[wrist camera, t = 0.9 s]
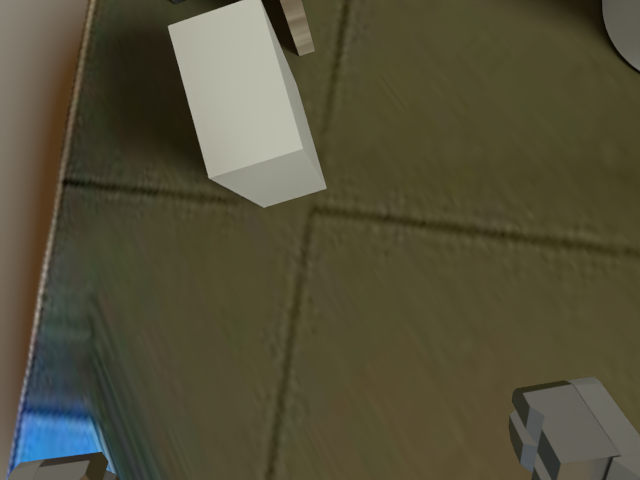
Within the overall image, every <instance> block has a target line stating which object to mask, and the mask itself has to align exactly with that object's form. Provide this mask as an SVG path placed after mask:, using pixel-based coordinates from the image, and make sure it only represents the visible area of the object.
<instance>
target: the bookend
mask: <svg viewBox="0 0 640 480" xmlns="http://www.w3.org/2000/svg"><path fill="white" fill-rule="evenodd" d="M172 1H173V3H174V4H177V3H179V2H182V1H185V0H172Z"/></svg>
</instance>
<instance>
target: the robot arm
mask: <svg viewBox="0 0 640 480" xmlns="http://www.w3.org/2000/svg"><path fill="white" fill-rule="evenodd" d="M602 10H603V18H604V22H605V26H606V29H607V32H608V34H609V36H610V39H611V40H612V42H613V44H614V46H615V47H616V49H617V50H618V51H619V53H620V54H621V55H622V56H623V57H624V58H625V59H626V60H627V61H628V62H629V63H630V64H631V65H632V66H634V67H635V68H636V69H638V70H639V71H640V0H602ZM512 403H513V405H514V407H515V409H516V410H515V411H514V412H513V413H512V414H511V415H510V416H509V432H510V438H511V442H512V445H513V448H514V451H515V454H516V456H517V458H518V460H519V462H520V464H521V465H522V466H524V467H525V468H526V469H528V470H529V471H530V472H532V473H533V474H532V480H640V435H639V434H638V433H637V431H636V430H635V429H634V427H633V426H632V424H631V423H630V422H629V420H628V419H627V418H626V416H625V415H624V414H623V412H622V411H621V410H620V408H619V407H618V405H617V404H616V403H615V401H614V400H613V399H612V397H611V396H610V395H609V393H608V392H607V391H606V389H605V388H604V386H603V385H602V384H601V382H600V381H599V380H597V379H596V378H594V377H587V378H581V379H575V380H569V381H564V380H563V381H557V382H551V383H545V384H539V385H534V386H528V387H522V388H516V389H515V390H514V392H513V395H512ZM107 465H108V460H107V459H106V457H105V456H104V455H103V453H102V452H97V453H90V454H82V455H74V456H67V457H59V458H52V459H43V460H36V461H29V462H23V463H20V464H19V465H18V466H17V467H16V468H15V469H14V470H13V471H12V472H11V474H10V476H9V478H8V480H119V478H118V476H117V475H116V474H114V473H112V472H110V471H107V470H106V468H107Z"/></svg>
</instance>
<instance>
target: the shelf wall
mask: <svg viewBox="0 0 640 480" xmlns="http://www.w3.org/2000/svg"><path fill="white" fill-rule="evenodd" d="M280 2H281V5H282V8H283V11H284V13H285V16H286V19H287V22H288V25H289V28H290V31H291V34H292V37H293V39H294V42H295V45H296V48H297V51H298V54H299V56H301V55H304V54H307V53H311V52H314V51H315V50H314V46H313V42H312V38H311V34H310V31H309V27H308V23H307V19H306V16H305V12H304V8H303V4H302V1H301V0H280Z"/></svg>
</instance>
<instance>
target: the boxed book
mask: <svg viewBox="0 0 640 480" xmlns="http://www.w3.org/2000/svg"><path fill="white" fill-rule="evenodd" d="M168 29H169V33H170V36H171V40H172V44H173V47H174V51H175V55H176V58H177V62H178V66H179V70H180V73H181V77H182V81H183V84H184V88H185V92H186V95H187V99H188V103H189V107H190V110H191V114H192V118H193V121H194V125H195V129H196V132H197V136H198V140H199V144H200V147H201V151H202V155H203V158H204V162H205V166H206V169H207V173H208V177H209V179H211V180H213V181H215V182H217V183H219V184H220V185H222V186H224V187H226V188H228V189H230V190H232V191H234V192H235V193H237V194H239V195H241V196H243V197H245V198H247V199H249V200H250V201H252V202H254V203H256V204H258V205H260V206H262V207H263V208H264V207H267V206H271V205H274V204H277V203H280V202H284V201H287V200H290V199H294V198H297V197H300V196H304V195H307V194H310V193H313V192H317V191H320V190H323V189H327V188H326V185H325V181H324V178H323V174H322V171H321V167H320V164H319V161H318V157H317V154H316V150H315V147H314V143H313V140H312V136H311V133H310V130H309V126H308V123H307V119H306V116H305V112H304V109H303V105H302V102H301V99H300V95H299V92H298V88H297V85H296V82H295V80H294V78H293V75H292V73H291V70H290V68H289V66H288V63H287V61H286V59H285V56H284V54H283V51H282V49H281V47H280V44H279V42H278V39H277V37H276V35H275V32H274V30H273V28H272V25H271V23H270V20H269V18H268V16H267V13H266V11H265V8H264V6H263V4H262V1H261V0H242V1H239V2H236V3H233V4H230V5H227V6H225V7H222V8H219V9H216V10H213V11H210V12H207V13H204V14H201V15H198V16H196V17H193V18H190V19H187V20H184V21H181V22H178V23H175V24H172V25H169V26H168Z"/></svg>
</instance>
